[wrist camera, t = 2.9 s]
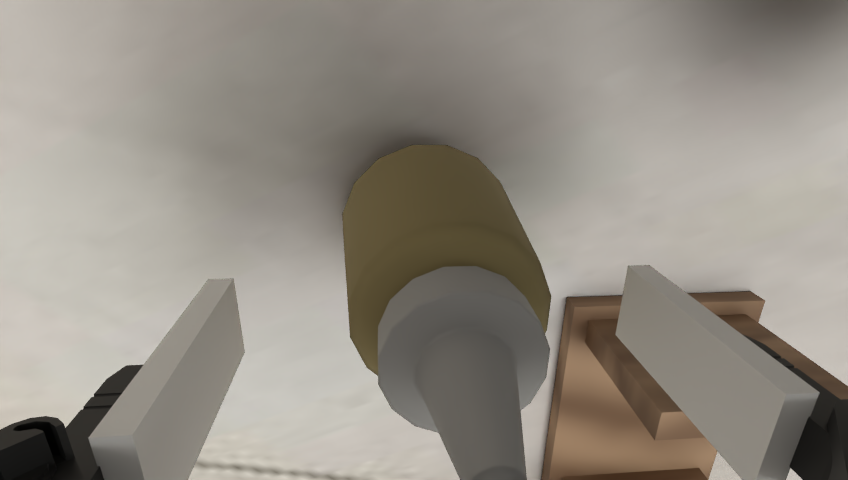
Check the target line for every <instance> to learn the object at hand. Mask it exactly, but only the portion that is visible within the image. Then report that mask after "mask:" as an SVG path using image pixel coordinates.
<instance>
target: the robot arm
mask: <svg viewBox="0 0 848 480" xmlns="http://www.w3.org/2000/svg"><path fill="white" fill-rule="evenodd" d="M615 335H616V336H617V337H618V338H619V339H620V341H621V342H622V343H623V344H624V345H625V346H626V347H627V349H628V350H629V351H630V352H631V353H632V354H633V355H634V357H635V358H636V359H637V360H638V361H639V362H640V363H641V364H642V366H643V367H644V368H645V369H646V370H647V371H648V372H649V374H650V375H651V376H652V377H653V378H654V379H655V380H656V382H657V383H658V384H659V385H660V386H661V387H662V388H663V390H664V391H665V392H666V393H667V394H668V395H669V396H670V398H671V399H672V400H673V401H674V402H675V403H676V404H677V406H678V407H679V408H680V409H681V410H682V411H683V412H684V414H685V415H686V416H687V417H688V418H689V419H690V420H691V422H692V423H693V424H694V425H695V426H696V427H697V428H698V430H699V431H700V432H701V433H702V434H703V435H704V436H705V438H706V439H707V440H708V441H709V442H710V443H711V444H712V446H713V447H714V448H715V449H716V450H717V451H718V452H719V454H720V455H721V456H722V457H723V458H724V459H725V460H726V462H727V463H728V464H729V465H730V466H731V467H732V468H733V470H734V471H735V472H736V473H737V474H738V475H739V476H740V478H741V479H742V480H786V478H787V475H788V473H789V470H790V468H791V469H792V470H794V471H795V472H796V473H797V474H798V475H799V476H800V477H801V478H802V479H803V480H848V399H842V400H841V399H839V398H838V397H836V396H835V395H834V394H832V393H831V392H830V391H828V390H827V389H825V388H824V387H823V386H821V385H820V384H819V383H817V382H816V381H814V380H813V379H812V378H810V377H809V376H808V375H806V374H805V373H804V372H802V371H801V370H799V369H798V368H794V365H793V364H791V363H790V362H788V361H787V360H786V359H784V358H781V356H780V355H779V354H777V353H776V352H775V351H773V350H772V349H771V348H769V347H768V346H766V345H765V344H763V343H761V342H759V341H757V340H755V339H753V338H751V337H748V336H746V335H744V334H743V335H742V334H741V333H739V332H738V331H737V330H735V329H734V328H733V327H731V326H730V325H729V324H727V323H726V322H725V321H723V320H722V319H721V318H719V317H718V316H717V315H715V314H714V313H713V312H711V311H710V310H709V309H707V308H706V307H705V306H703V305H702V304H701V303H699V302H698V301H697V300H695V299H694V298H693V297H691V296H690V295H689V294H687V293H686V292H685V291H683V290H682V289H681V288H679V287H678V286H677V285H675V284H674V283H673V282H671V281H670V280H668V279H667V278H666V277H664V276H663V275H662V274H660V273H659V272H658V271H656V270H655V269H654V268H652V267H651V266H650V265H637V266H628V269H627V275H626V280H625V285H624V291H623V296H622V302H621V307H620V313H619V318H618V323H617V329H616V334H615ZM244 353H245V351H244V344H243V338H242V331H241V325H240V318H239V311H238V305H237V298H236V292H235V285H234V279H208V281H207V282H206V283H205V285H204V286H203V287H202V289H201V290H200V291H199V292H198V294H197V295H196V296H195V298H194V299H193V300H192V302H191V303H190V304H189V306H188V307H187V308H186V310H185V311H184V312H183V314H182V315H181V316H180V318H179V319H178V320H177V321H176V323H175V324H174V325H173V327H172V328H171V329H170V331H169V332H168V333H167V335H166V336H165V337H164V339H163V340H162V341H161V343H160V344H159V345H158V347H157V348H156V349H155V351H154V352H153V353H152V354H151V356H150V357H149V358H148V360H147V361H146V362H145V364H144V365H129V366H125V367H124V368H122V369H121V370H119V371H118V372H116V373H115V374H114V375H112V376H111V377H109V378H108V379H106V381H105V382H104V383H103V384H102V385H101V387H100V388H99V389H98V390H97V391H96V393H95V394H94V397H91V399H90V400H89V401H88V402H87V403H86V405H85V406H84V409H83V410H80V412H79V413H78V414H77V415H76V416H75V418H74V419H73V420H72V421H71V422H70V424H69V425H68V426H67V427H66V428H65V426H64V424H63V423H62V422H61V421H60V420H59V419H58V418H54V417H47V416H44V417H36V418H29V419H26V420H23V421H20V422H16V423H13V424H11V425H9V426H7V427H5V428H3V429H1V430H0V480H188V478H189V476H190V474H191V472H192V469H193V467H194V465H195V463H196V460H197V458H198V456H199V454H200V451H201V449H202V447H203V445H204V442H205V440H206V438H207V436H208V433H209V431H210V429H211V427H212V424H213V422H214V420H215V418H216V415H217V413H218V411H219V409H220V406H221V404H222V402H223V400H224V397H225V395H226V393H227V391H228V388H229V386H230V384H231V382H232V379H233V377H234V375H235V373H236V370H237V368H238V366H239V364H240V362H241V359H242V357H243V355H244Z"/></svg>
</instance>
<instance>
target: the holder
mask: <svg viewBox="0 0 848 480" xmlns="http://www.w3.org/2000/svg"><path fill="white" fill-rule="evenodd" d="M687 294H689V295H690V296H691V297H693V298H694V299H695V300H697V301H698V302H699V303H701V304H702V305H703V306H705V307H706V308H707V309H709V310H710V311H711V312H713V313H714V314H715V315H717V316H718V317H719V318H721V319H722V320H723V321H725V322H726V323H727V324H729V325H730V326H731V327H733V328H734V329H735V330H737V331H738V332H739V333H741V334H742V335H743V334H744V335H746V336H748V337H751V338H753V339H755V340H757V341H759V342H761V343H763V344H765V345H766V346H768V347H769V348H771V349H772V350H773V351H775V352H776V353H777V354H779V355H780V356H781V358H784V359H786V360H787V361H788V362H790V363H791V364H793V365H794V368H798V369H799V370H801V371H802V372H804V373H805V374H806V375H808V376H809V377H810V378H812V379H813V380H814V381H816V382H817V383H819V384H820V385H821V386H823V387H824V388H825V389H827V390H828V391H830V392H831V393H832V394H834V395H835V396H836V397H838V398H839V399H841V400H842V399H848V386H847V385H845V384H844V383H842V382H841V381H840V380H838V379H837V378H835V377H834V376H833V375H831V374H830V373H828V372H827V371H825V370H824V369H823V368H821V367H820V366H818V365H817V364H816V363H814V362H813V361H811V360H810V359H809V358H807V357H806V356H804V355H803V354H801V353H800V352H799V351H797V350H796V349H794V348H793V347H792V346H790V345H789V344H787V343H786V342H785V341H783V340H782V339H780V338H779V337H777V336H776V335H775V334H773V333H772V332H770V331H769V330H768V329H766V328H765V327H763V326H762V325H761V324H759V323H758V322H759V318H760V315H761V312H762V309H763V306H764V303H765V300H763V299H762V298H760V297H759V296H757V295H755V294H754V293H752V292H751V291H748V292H718V293H687ZM621 302H622V296H594V297H567V300H566V307H565V314H564V322H563V329H562V336H561V343H560V350H559V357H558V364H557V371H556V379H555V386H554V393H553V400H552V407H551V414H550V421H549V428H548V436H547V443H546V450H545V457H544V464H543V471H542V478H541V480H708V479H709V476H710V472H711V469H712V466H713V463H714V460H715V457H716V454H717V450H716V449H715V448H714V447H713V446H712V444H711V443H710V442H709V441H708V440H707V439H706V438H705V436H704V435H703V434H702V433H701V432H700V431H699V430H698V428H697V427H696V426H695V425H694V424H693V423H692V422H691V420H690V419H689V418H688V417H687V416H686V415H685V414H684V412H683V411H682V410H681V409H680V408H679V407H678V406H677V404H676V403H675V402H674V401H673V400H672V399H671V398H670V396H669V395H668V394H667V393H666V392H665V391H664V390H663V388H662V387H661V386H660V385H659V384H658V383H657V382H656V380H655V379H654V378H653V377H652V376H651V375H650V374H649V372H648V371H647V370H646V369H645V368H644V367H643V366H642V364H641V363H640V362H639V361H638V360H637V359H636V358H635V357H634V355H633V354H632V353H631V352H630V351H629V350H628V349H627V347H626V346H625V345H624V344H623V343H622V342H621V341H620V339H619V338H618V337H617V336H616V335H615V334H616V329H617V323H618V318H619V313H620V307H621Z"/></svg>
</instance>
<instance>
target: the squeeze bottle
mask: <svg viewBox="0 0 848 480" xmlns="http://www.w3.org/2000/svg"><path fill="white" fill-rule="evenodd" d="M342 216H343V235H344V252H345V267H346V282H347V297H348V312H349V326H350V338H351V340H352V341H353V343H354V345H355V347H356V349H357V350H358V352H359V354H360V356H361V358H362V360H363V361H364V363H365V365H366V367H367V368H368V369H370V370H371V371H372V372H374V373H375V374H376V375H377V376H378V385H379V386H380V388H381V390H382V392H383V394H384V396H385V397H386V399H387V401H388V403H389V405H390V406H391V408H392V409H393V410H394V411H395V412H397V413H398V414H399V415H401V416H402V417H403V418H405V419H406V420H407V421H409V422H410V423H411V424H413V425H414V426H416V427H420V428H423V429H427V430H431V431H434V432H438V433H439V434H440V437H441V439H442V441H443V443H444V445H445V447H446V450H447V452H448V454H449V456H450V458H451V461H452V463H453V465H454V467H455V469H456V471H457V474H458V476H459V478H460V480H527V477H526V466H525V455H524V444H523V434H522V423H521V412H520V411H521V410H522V409H523V408H524V407H526V406H527V405H528V404H529V403H531V401H532V399H533V398H534V396H535V395H536V393H537V391H538V390H539V388H540V386H541V385H542V383H543V382H544V380H545V378H546V375H547V368H548V360H549V353H550V348H549V345H548V342H547V339H546V336H545V333H546V331H547V325H548V317H549V309H550V302H551V294H550V291H549V288H548V285H547V282H546V279H545V276H544V273H543V270H542V267H541V263H540V261H539V259H538V257H537V255H536V253H535V251H534V249H533V247H532V245H531V243H530V241H529V239H528V237H527V235H526V233H525V231H524V229H523V227H522V225H521V223H520V221H519V219H518V217H517V215H516V213H515V211H514V209H513V207H512V205H511V203H510V201H509V199H508V197H507V195H506V193H505V191H504V189H503V187H502V185H501V183H500V181H499V180H498V179H497V178H496V177H495V176H494V175H493V174H492V173H491V172H490V171H489V170H488V169H487V167H486V166H485V165H484V164H483V163H482V162H481V161H480V160H479V159H478V158H476V157H474V156H471V155H469V154H467V153H464V152H462V151H460V150H457V149H455V148H452V147H450V146H448V145H410V146H408V147H405V148H403V149H400V150H398V151H396V152H393V153H391V154H388V155H386V156H384V157H381V158H379V159H378V160H377V161H376V162H375V163H374V164H373V165H372V166H371V167H370V168H369V169H368V170H367V171H366V172H365V173H364V174H363V175H362V176H361V177H360V178H359V179H358V180H357V181H356V182H355V183H354V185H353V188H352V190H351V193H350V196H349V198H348V201H347V203H346V206H345V209H344V211H343V214H342Z"/></svg>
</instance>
